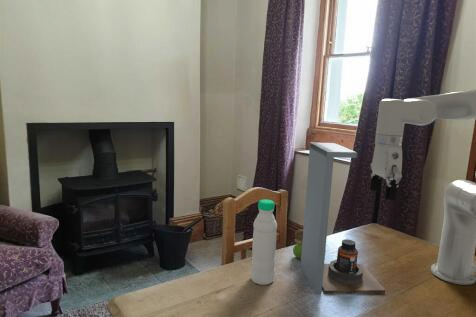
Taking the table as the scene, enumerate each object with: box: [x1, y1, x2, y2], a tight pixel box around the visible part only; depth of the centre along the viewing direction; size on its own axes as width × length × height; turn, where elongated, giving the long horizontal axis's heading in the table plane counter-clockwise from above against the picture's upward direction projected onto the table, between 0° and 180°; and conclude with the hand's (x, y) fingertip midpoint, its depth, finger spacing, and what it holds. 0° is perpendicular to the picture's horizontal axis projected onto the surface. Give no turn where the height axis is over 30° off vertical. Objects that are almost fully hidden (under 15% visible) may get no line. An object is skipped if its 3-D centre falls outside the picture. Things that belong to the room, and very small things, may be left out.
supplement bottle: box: [336, 238, 359, 273], centre depth 109 cm, size 6×6×11 cm
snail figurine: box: [292, 229, 303, 260], centre depth 121 cm, size 5×6×12 cm
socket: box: [322, 259, 386, 295], centre depth 109 cm, size 18×16×4 cm
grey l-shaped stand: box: [300, 141, 358, 295], centre depth 105 cm, size 8×17×42 cm, turn 5°
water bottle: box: [250, 199, 278, 286], centre depth 105 cm, size 7×7×25 cm
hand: (382, 194), depth 110 cm, fingers open, 9 cm apart
